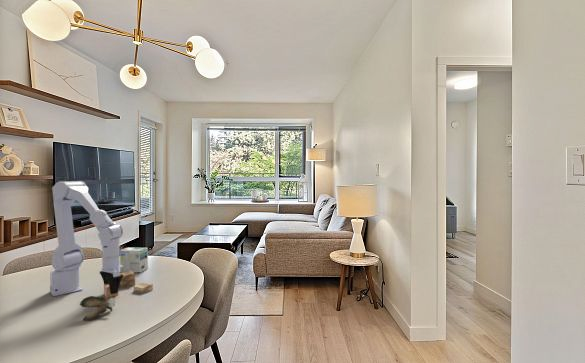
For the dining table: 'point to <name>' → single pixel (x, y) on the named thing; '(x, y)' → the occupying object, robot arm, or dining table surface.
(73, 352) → the dining table surface
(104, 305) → the eagle figurine
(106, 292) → the terracotta cube
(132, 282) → the tower base
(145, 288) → the slab
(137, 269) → the light bulb box
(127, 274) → the tower top
